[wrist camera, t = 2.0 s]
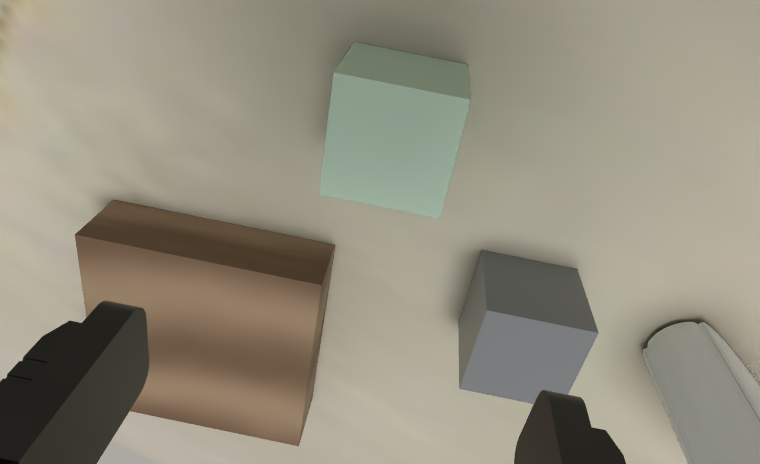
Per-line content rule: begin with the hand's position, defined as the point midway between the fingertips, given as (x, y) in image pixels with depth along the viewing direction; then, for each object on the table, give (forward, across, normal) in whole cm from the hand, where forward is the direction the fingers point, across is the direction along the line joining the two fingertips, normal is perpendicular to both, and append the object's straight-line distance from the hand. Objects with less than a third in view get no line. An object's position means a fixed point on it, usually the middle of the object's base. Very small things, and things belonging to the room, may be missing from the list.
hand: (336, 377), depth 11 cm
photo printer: (+17, -20, +12) cm, 29 cm away
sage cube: (+17, 0, 0) cm, 17 cm away
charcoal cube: (+17, -8, +9) cm, 21 cm away
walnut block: (+17, +8, +14) cm, 23 cm away
